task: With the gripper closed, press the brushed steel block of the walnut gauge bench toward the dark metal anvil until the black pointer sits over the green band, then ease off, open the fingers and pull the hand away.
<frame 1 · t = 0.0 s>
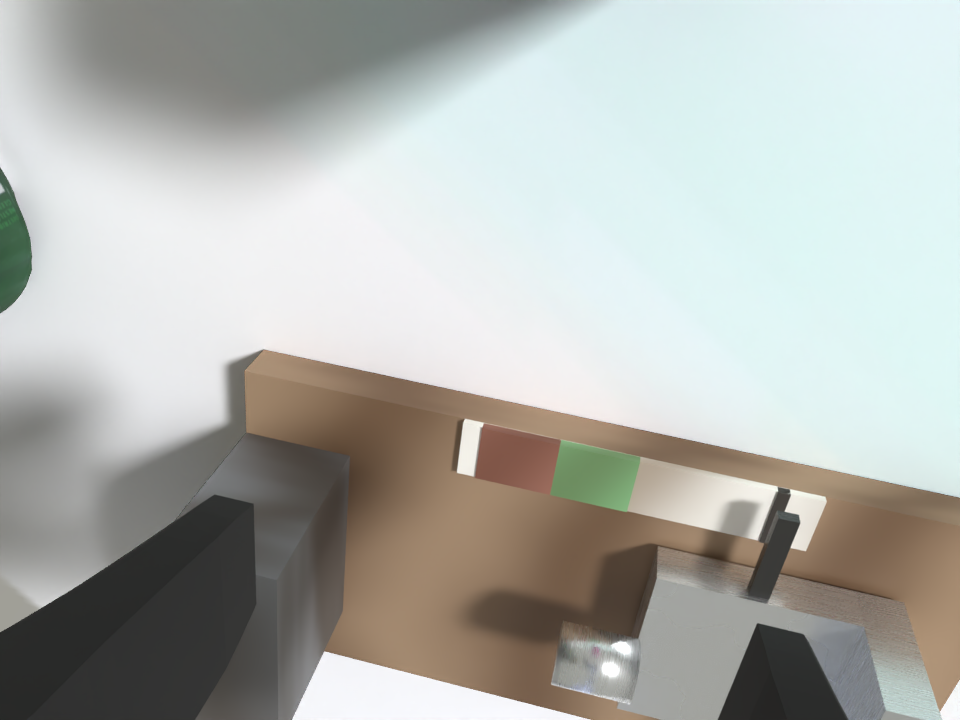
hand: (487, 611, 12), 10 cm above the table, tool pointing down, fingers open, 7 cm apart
gauge frame: (588, 565, 24), on the table
brushed steel block: (730, 652, 20), point 3 cm above the table, slide at 0.0 cm
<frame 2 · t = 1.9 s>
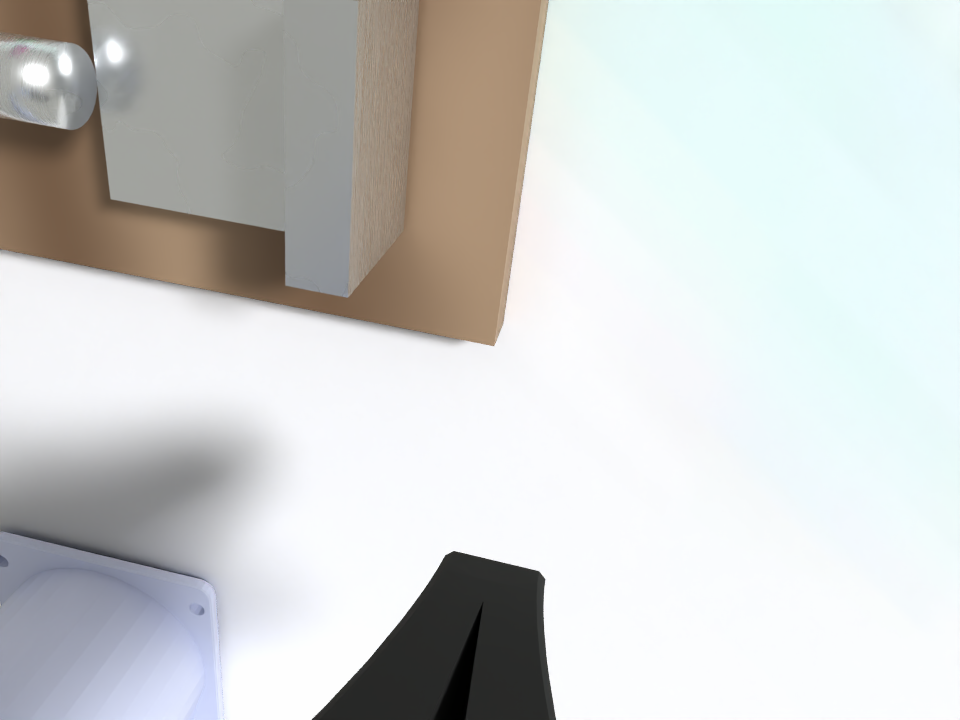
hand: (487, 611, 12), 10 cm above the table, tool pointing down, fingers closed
gauge frame: (104, 49, 19), on the table
brushed steel block: (173, 33, 15), point 3 cm above the table, slide at 0.0 cm
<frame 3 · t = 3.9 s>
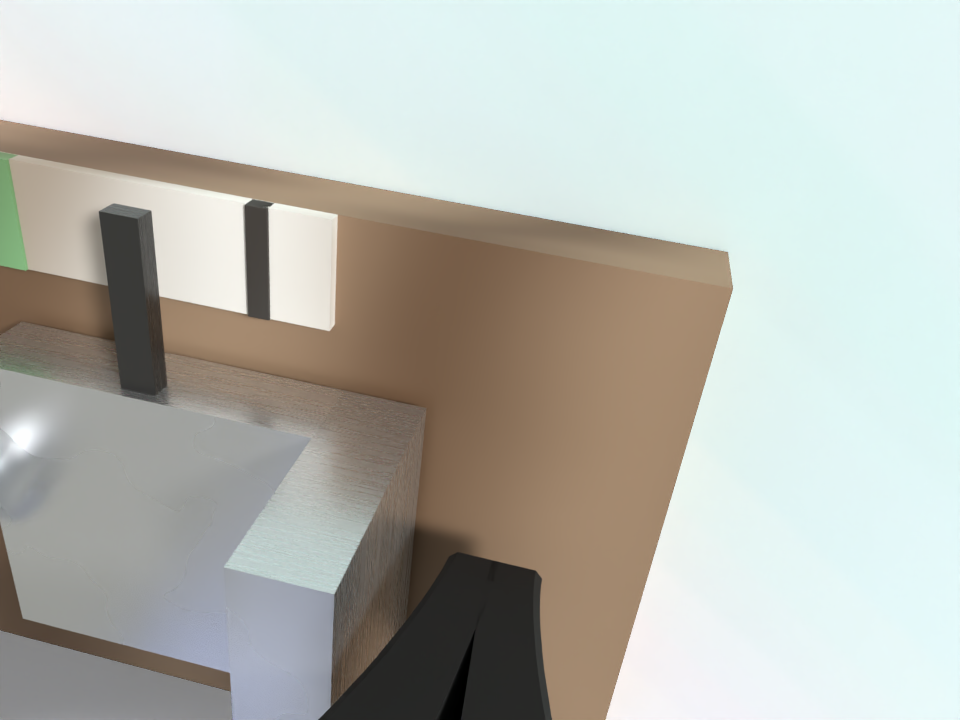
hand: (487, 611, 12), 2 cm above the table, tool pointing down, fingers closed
gauge frame: (86, 408, 15), on the table
brushed steel block: (88, 492, 11), point 3 cm above the table, slide at 1.3 cm, touching gripper
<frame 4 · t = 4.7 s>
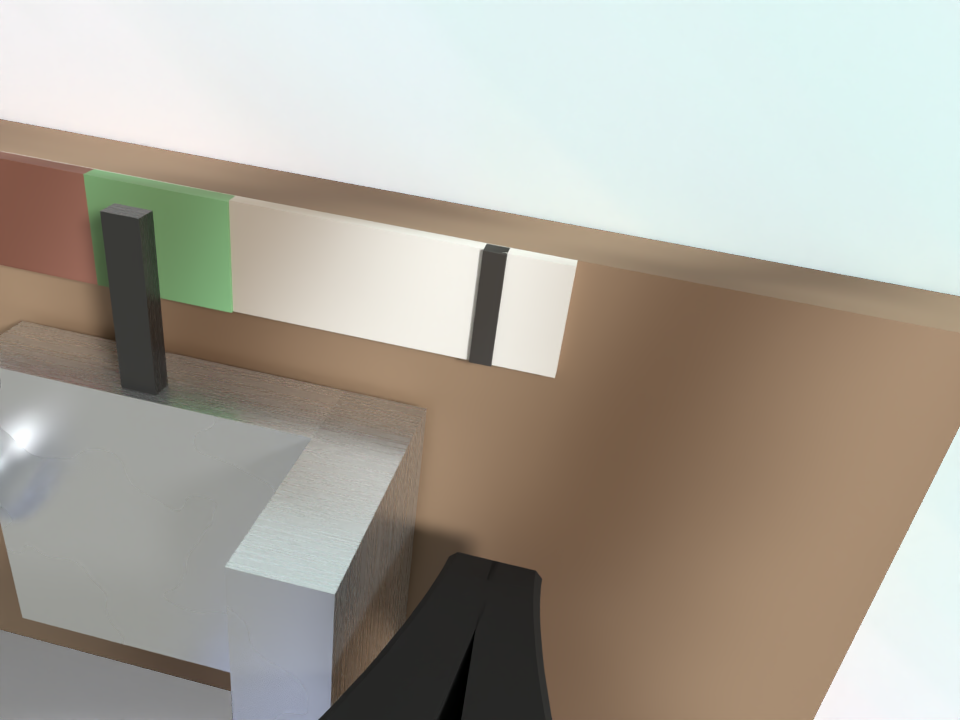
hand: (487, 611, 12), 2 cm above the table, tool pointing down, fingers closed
gauge frame: (250, 445, 14), on the table
brushed steel block: (88, 492, 11), point 3 cm above the table, slide at 4.4 cm, touching gripper
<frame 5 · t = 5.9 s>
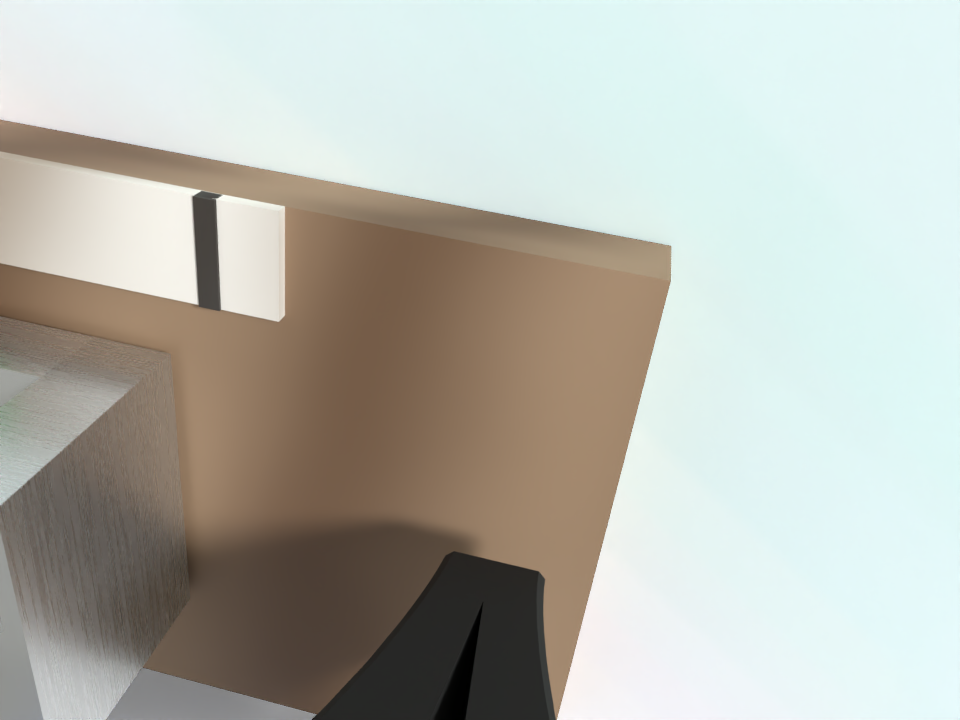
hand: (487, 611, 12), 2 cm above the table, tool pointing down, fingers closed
gauge frame: (48, 399, 15), on the table
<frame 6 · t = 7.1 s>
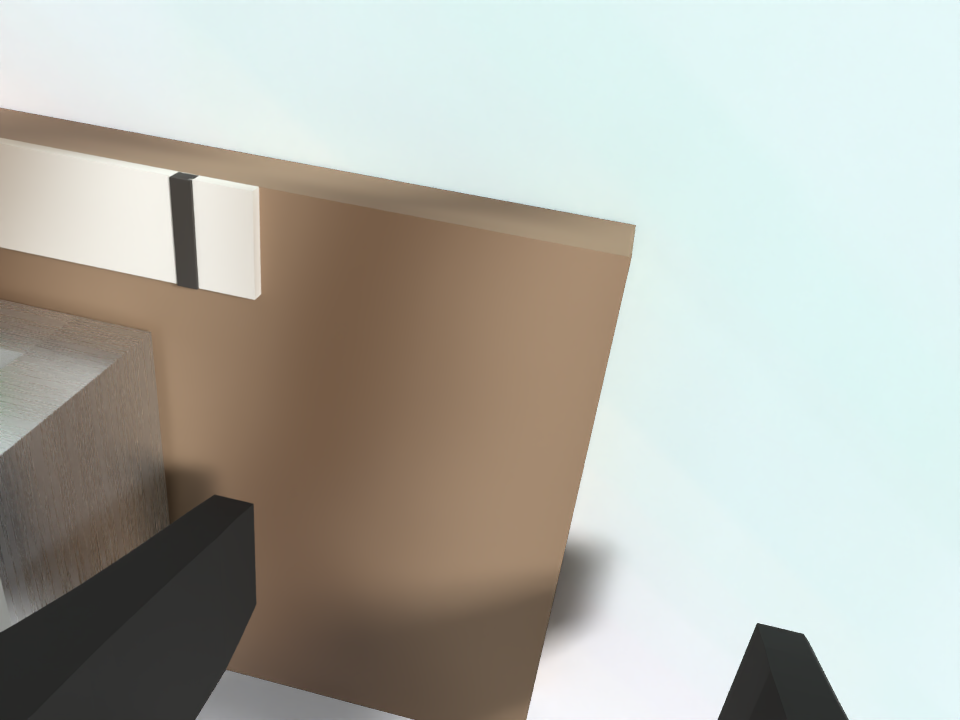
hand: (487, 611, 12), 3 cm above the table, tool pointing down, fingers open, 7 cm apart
gauge frame: (36, 380, 15), on the table
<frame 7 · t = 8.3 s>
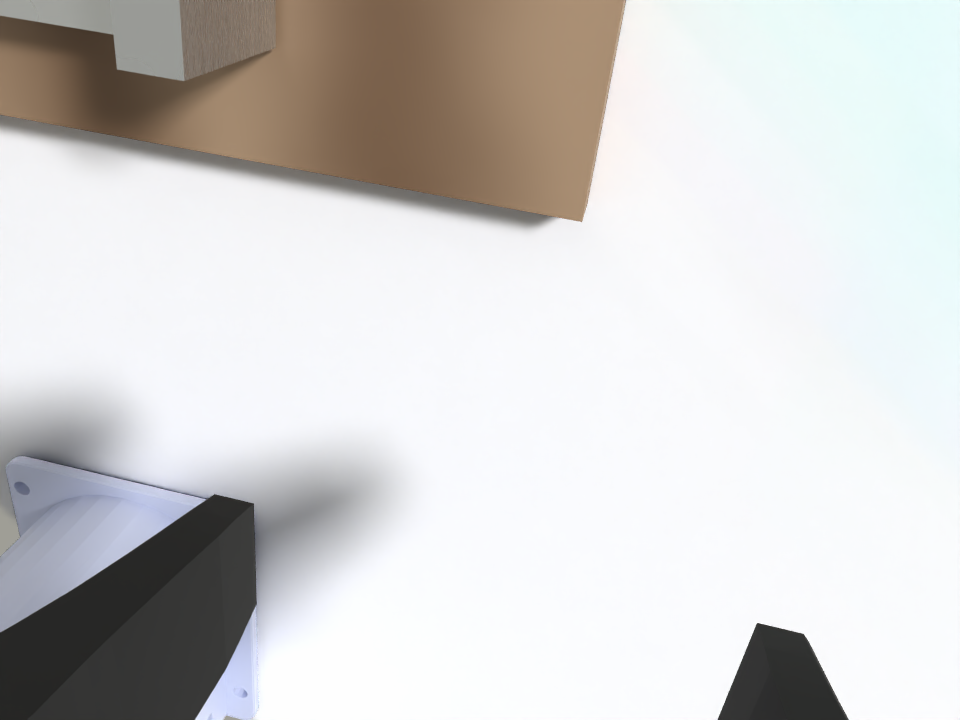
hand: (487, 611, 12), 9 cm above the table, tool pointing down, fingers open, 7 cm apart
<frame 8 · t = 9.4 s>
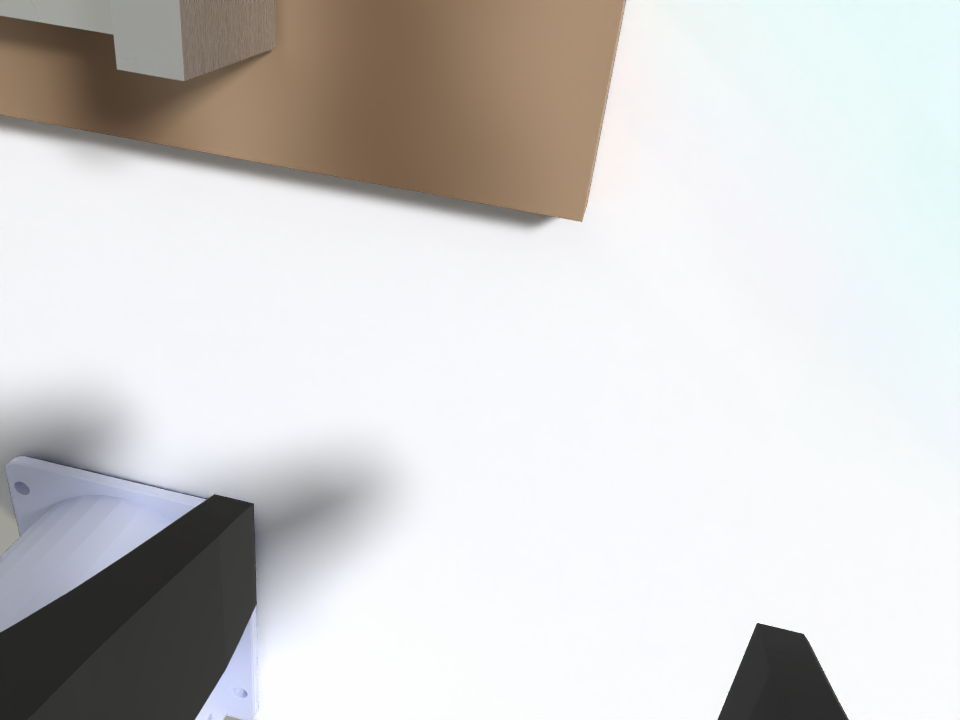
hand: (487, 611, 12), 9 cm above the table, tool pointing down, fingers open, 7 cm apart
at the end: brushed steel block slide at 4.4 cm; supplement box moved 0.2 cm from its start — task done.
